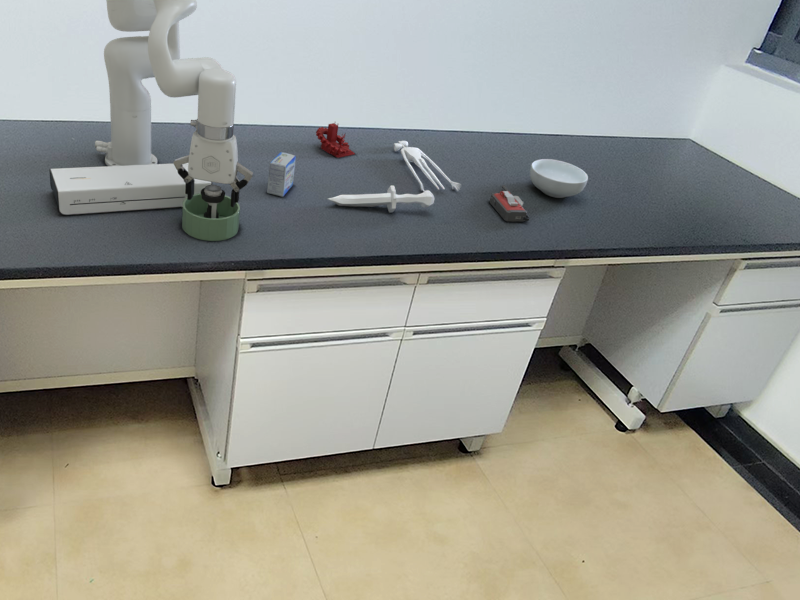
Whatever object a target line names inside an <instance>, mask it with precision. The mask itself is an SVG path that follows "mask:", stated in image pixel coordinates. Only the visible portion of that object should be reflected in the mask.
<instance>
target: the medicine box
mask: <svg viewBox="0 0 800 600" xmlns="http://www.w3.org/2000/svg"><path fill="white" fill-rule="evenodd" d="M296 159H297V155H294V154H291V153H287V152H283V151H280V152H279V153H278V154H277V155H276V156H275V157H274V158H273V159H271V161H269V164H268V174H267V175H268V177H267V188H266V189H267V191H266V192H267V194H270V195H273V196H277V197H281V198H284V197H285V195H286V194H287V193H288V192H289V190H290V189H291V188H292V187H293V186H294V178H295V169H296V168H295V167H296Z"/></svg>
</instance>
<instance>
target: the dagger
mask: <svg viewBox="0 0 800 600" xmlns="http://www.w3.org/2000/svg"><path fill="white" fill-rule="evenodd" d="M424 190H425V189H424ZM327 200H328V201H330V202H332V203H334V204H336V205H337V206H340V207H362V208H363V207H366V208H367V207H368V208H370V207H371V208H372V207H377V206H386V208H387V210H388V213H394V212H395V210H396V208H397V205H398V204H402V205H411V204H412V205H413V204H418V205H420V206H421V208H424V209H427V208H428V207H430V206H432V205H434V203H435V196H434V193H432V192H431V191H430V190H429V189H426V190H425V191H423V192H422V191H421V193H418V194H414V193H413V194H412V193H404V194H397V191H396V187H395V185H389V187H388V188H387V191H386V192H385V193H384V192H383V193H364V194H363V193H361V194H340V195H337V196H333V197H329V198H327Z"/></svg>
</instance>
